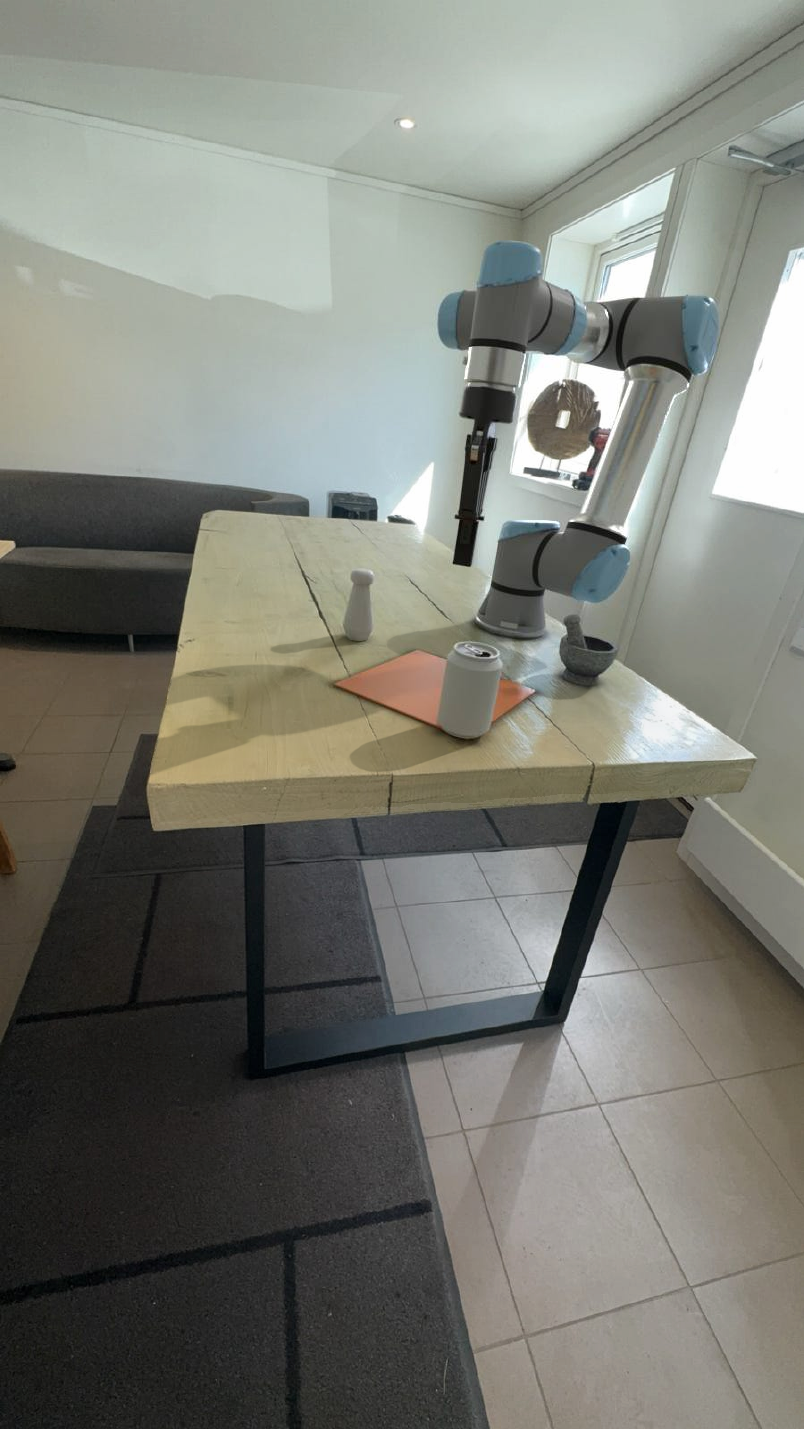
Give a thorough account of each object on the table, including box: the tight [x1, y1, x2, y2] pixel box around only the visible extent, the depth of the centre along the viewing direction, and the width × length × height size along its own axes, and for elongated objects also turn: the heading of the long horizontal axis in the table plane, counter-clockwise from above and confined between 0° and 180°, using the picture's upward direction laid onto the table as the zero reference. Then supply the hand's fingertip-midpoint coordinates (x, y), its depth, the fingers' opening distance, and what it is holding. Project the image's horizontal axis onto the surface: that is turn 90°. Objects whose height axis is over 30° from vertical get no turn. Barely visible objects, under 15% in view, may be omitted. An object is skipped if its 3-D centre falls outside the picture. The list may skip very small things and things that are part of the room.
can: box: [437, 641, 504, 739], centre depth 80 cm, size 8×8×12 cm
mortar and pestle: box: [558, 613, 619, 687], centre depth 104 cm, size 11×9×12 cm
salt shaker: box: [342, 567, 375, 642], centre depth 110 cm, size 6×6×13 cm
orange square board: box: [333, 649, 537, 741], centre depth 95 cm, size 24×24×1 cm
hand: (462, 564), depth 89 cm, fingers closed
